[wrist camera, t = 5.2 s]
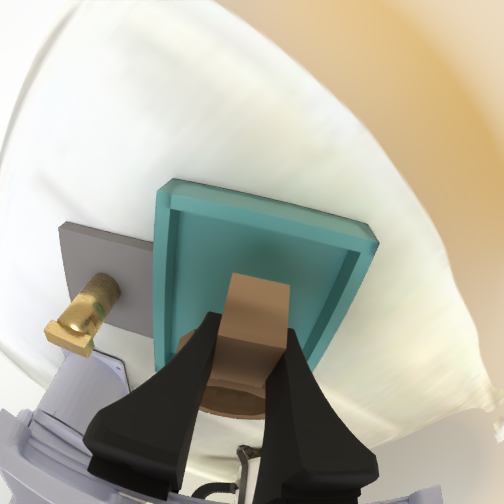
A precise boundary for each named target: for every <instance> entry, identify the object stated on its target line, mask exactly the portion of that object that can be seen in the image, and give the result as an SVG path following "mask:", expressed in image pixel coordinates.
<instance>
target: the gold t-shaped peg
mask: <svg viewBox="0 0 504 504" xmlns="http://www.w3.org/2000/svg"><path fill="white" fill-rule="evenodd" d="M120 296H121V289H120V287H119V285H118V283H117V282H116V280H115V279H114V278H112V277H111V276H110V275H108V274H105V273H97V274H95V275H94V276H93V277H92V279H91V280H90V281H89V282H88V283H87V284H86V286H85V287H84V288H83V289H82V290H81V292H80V293H79V294H78V295H77V296H76V298H75V299H74V300H73V301H72V302H71V304H70V305H69V306H68V307H67V309H66V310H65V311H64V313H63V314H62V315H61V316H60V318H59V319H58V320H57V322H56V321H53V320H51V321H50V323H49V324H48V325H47V326H46V328H45V329H44V332H45V335H46V337H47V340H48V341H49V342H51V343H53V344H55V345H58V346H60V347H62V348H64V349H66V350H68V351H71V352H73V353H75V354H78V355H80V356H82V357H85V358H87V359H88V358H89V356H90V354H91V353H92V351H93V349H94V348H95V346H94V343H93V337H94V336H95V334H96V333H97V331H98V329H99V328H100V326H101V325H102V323H103V322H104V320H105V319H106V317H107V316H108V314H109V313H110V311H111V310H112V308H113V307H114V305H115V304H116V302H117V301H118V299H119V298H120Z"/></svg>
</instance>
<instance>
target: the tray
mask: <svg viewBox="0 0 504 504" xmlns="http://www.w3.org/2000/svg"><path fill="white" fill-rule="evenodd" d="M378 246H379V241H378V239H377V238H376V236H375V235H374V233H373V232H372V230H371V229H370V227H369V226H368V224H365V223H361V222H358V221H354V220H351V219H347V218H344V217H340V216H336V215H333V214H329V213H325V212H321V211H318V210H314V209H310V208H306V207H302V206H298V205H294V204H290V203H286V202H282V201H278V200H273V199H269V198H265V197H261V196H256V195H252V194H247V193H243V192H238V191H234V190H229V189H224V188H219V187H215V186H210V185H205V184H200V183H195V182H189V181H184V180H179V179H171V180H170V181H169V182H168V183H166V184H165V185H164V186H162V187H161V188H160V189H159V190H157V196H156V209H155V225H154V246H153V335H154V355H155V370H156V372H158V371H159V370H161V369H162V368H163V367H164V366H165V365H166V364H167V363H168V362H169V361H170V360H171V359H172V358H173V357H174V356H175V353H176V350H177V346H178V343H179V340H180V338H181V337H182V336H184V335H185V334H187V333H189V332H190V331H192V330H193V329H197V328H198V327H199V326H200V324H201V323H202V321H203V319H204V318H205V316H206V314H207V312H210V311H211V312H215V313H219V314H223V310H224V306H225V302H226V298H227V294H228V290H229V285H230V281H231V277H232V273H238V274H242V275H247V276H251V277H256V278H260V279H265V280H269V281H274V282H278V283H283V284H288V285H290V296H289V314H288V328H292V329H294V330H295V332H296V335H297V338H298V341H299V343H300V346H301V349H302V351H303V354H304V356H305V359H306V361H307V363H308V365H309V367H310V370H311V372H313V371H314V369H315V367H316V366H317V364H318V362H319V361H320V359H321V357H322V356H323V354H324V352H325V351H326V349H327V347H328V345H329V344H330V342H331V340H332V338H333V337H334V335H335V333H336V331H337V329H338V327H339V326H340V324H341V322H342V320H343V318H344V316H345V314H346V313H347V311H348V309H349V307H350V305H351V303H352V301H353V299H354V297H355V295H356V293H357V291H358V289H359V287H360V285H361V283H362V281H363V279H364V277H365V274H366V272H367V270H368V268H369V266H370V264H371V261H372V259H373V257H374V255H375V253H376V250H377V248H378Z"/></svg>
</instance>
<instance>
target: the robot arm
mask: <svg viewBox="0 0 504 504" xmlns="http://www.w3.org/2000/svg"><path fill="white" fill-rule="evenodd" d="M221 319H222V314H219V313H215V312H211V311H210V312H207V314H206V316H205V318H204V319H203V321H202V323H201V324H200V326H199V327H198V329H197V330H196V331H195V333H194V334H193V335H192V337H191V338H190V339H189V340H188V342H187V343H186V344H185V345H184V346H183V347H182V349H181V350H180V351H179V352H178V353H177V354H176V355H175V356H174V357H173V358H172V359H171V360H170V361H169V362H168V363H167V364H166V365H165V366H164V367H163V368H162V369H161V370H159V371H158V372H157V373H156V374H155V375H154V376H152V377H151V378H150V379H149V380H147V381H146V382H145V383H143V384H142V385H141V386H139V387H138V388H136V389H135V390H133V391H132V392H129V388H128V383H127V379H126V375H125V370H124V365H123V363H122V362H121V361H119V360H117V359H114V358H111V357H109V356H106V355H103V354H101V353H98V352H96V351H92V353H91V354H90V356H89V358H88V359H87V358H85V357H82V356H80V355H78V354H75V353H73V352H71V351H68V350H66V349H64V348H62V347H61V348H62V351H63V353H64V356H65V358H66V359H65V361H64V362H63V364H62V365H61V367H60V369H59V370H58V372H57V374H56V375H55V377H54V379H53V380H52V382H51V384H50V385H49V387H48V389H47V391H46V393H45V394H44V396H43V398H42V399H41V401H40V403H39V405H38V407H37V409H36V410H35V411H33V412H32V411H30V410H29V409H26V410H21V411H20V412H19V414H18V415H17V417H15V416H13V415H12V414H10V413H9V412H8V411H6V410H5V409H1V411H0V474H1V476H2V477H3V479H4V481H5V482H6V484H7V486H8V487H9V489H10V490H11V492H12V494H13V496H12V498H11V501H10V503H9V504H143V503H141V502H138V501H135V500H133V499H130V498H128V497H125V496H123V495H120V494H119V492H121V493H123V494H126V495H129V496H132V497H134V498H137V499H140V500H144V501H147V502H150V503H153V504H228V503H221V502H215V501H209V500H204V499H199V498H194V497H189V496H185V495H181V494H178V492H179V490H181V487H182V482H183V477H184V472H185V468H186V463H187V458H188V453H189V449H190V444H191V440H192V435H193V431H194V426H195V422H196V417H197V413H198V410H199V406H200V404H201V401H202V398H203V395H204V392H205V389H206V386H207V383H208V380H209V377H210V374H211V371H212V365H213V358H214V353H215V347H216V341H217V336H218V331H219V327H220V323H221ZM378 477H379V470H378V463H377V460H376V455H374V454H373V453H372V452H371V451H370V450H369V449H368V448H367V447H366V446H364V445H363V444H362V443H361V442H360V441H359V440H358V439H357V438H356V437H355V436H354V435H353V434H352V433H351V431H350V430H349V429H348V428H347V427H346V425H345V424H344V423H343V422H342V420H341V419H340V418H339V417H338V415H337V414H336V413H335V411H334V410H333V408H332V407H331V406H330V404H329V402H328V401H327V399H326V398H325V396H324V394H323V393H322V391H321V389H320V387H319V386H318V384H317V382H316V380H315V378H314V376H313V374H312V372H311V370H310V367H309V365H308V363H307V361H306V359H305V356H304V354H303V351H302V349H301V346H300V343H299V341H298V338H297V335H296V332H295V330H294V329H292V328H288V330H287V345H286V350H285V351H284V353H283V355H282V356H281V358H280V359H279V361H278V363H277V364H276V366H275V367H274V369H273V370H272V372H271V374H270V375H269V376H268V378H267V379H266V381H265V429H264V437H263V445H262V452H261V459H260V465H259V471H258V476H257V482H256V487H255V492H254V496H253V501H252V504H358V497H359V496H360V495H361V488H362V487H364V486H366V485H368V484H370V483H372V482H374V481H376V480H377V478H378ZM367 504H443V500H442V493H441V487H440V485H436V486H433V487H429V488H426V489H423V490H419V491H417V492H414V493H412V494H410V495H409V496H405V497H401V498H396V499H392V500H386V501H380V502H374V503H367Z"/></svg>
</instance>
